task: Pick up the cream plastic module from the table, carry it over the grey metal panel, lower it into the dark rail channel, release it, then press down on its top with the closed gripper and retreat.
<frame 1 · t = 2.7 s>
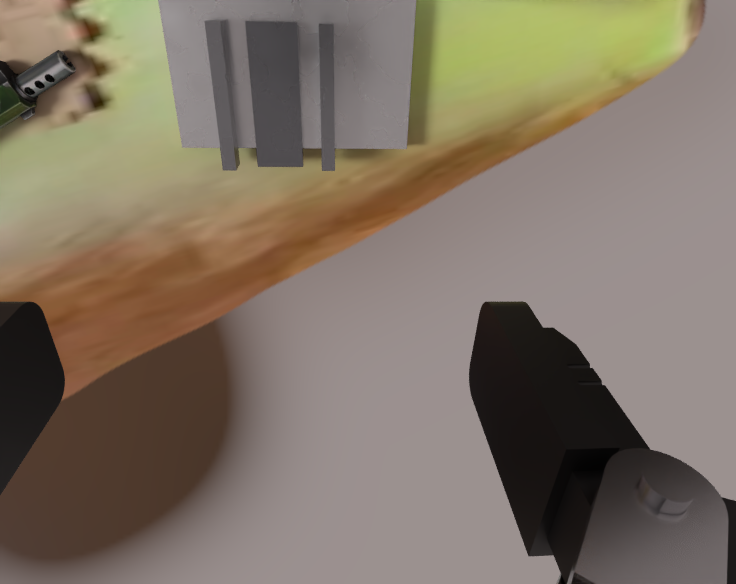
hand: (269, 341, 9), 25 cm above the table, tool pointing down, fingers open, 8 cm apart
rail panel: (293, 59, 30), on the table
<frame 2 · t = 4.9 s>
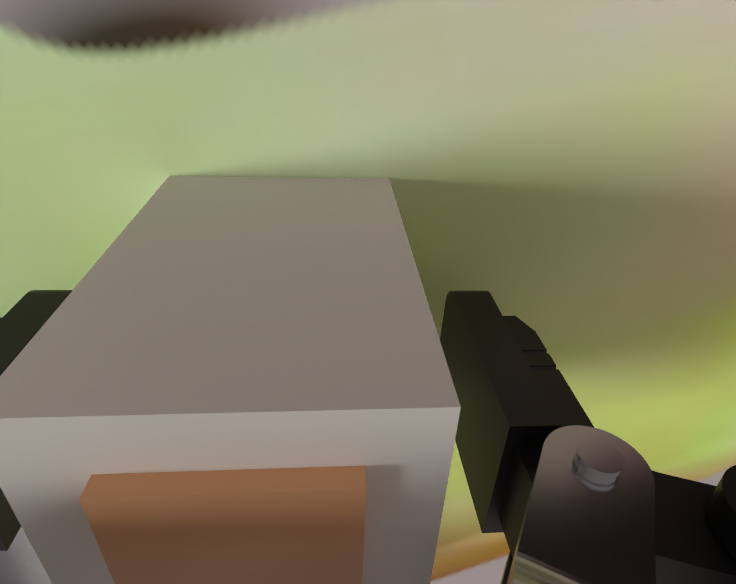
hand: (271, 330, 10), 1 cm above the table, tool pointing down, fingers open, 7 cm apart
module: (287, 292, 11), on the table
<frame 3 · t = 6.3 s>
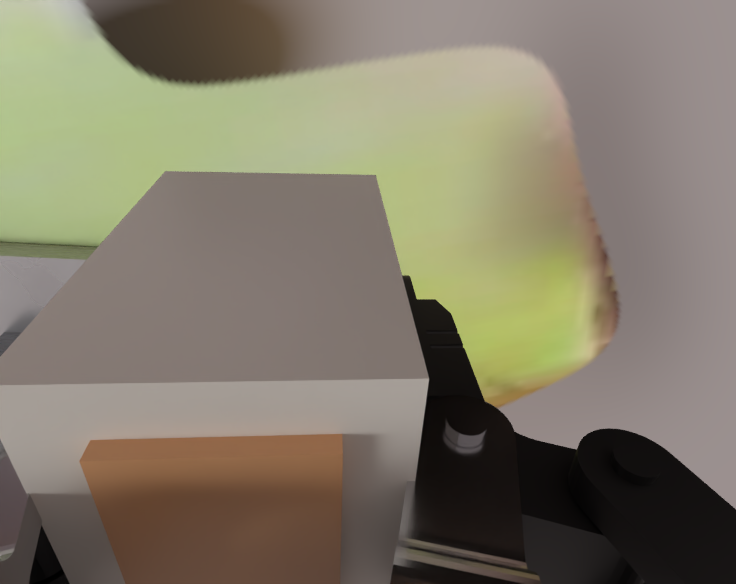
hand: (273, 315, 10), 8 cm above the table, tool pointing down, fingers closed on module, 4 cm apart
module: (278, 285, 11), point 7 cm above the table, touching gripper
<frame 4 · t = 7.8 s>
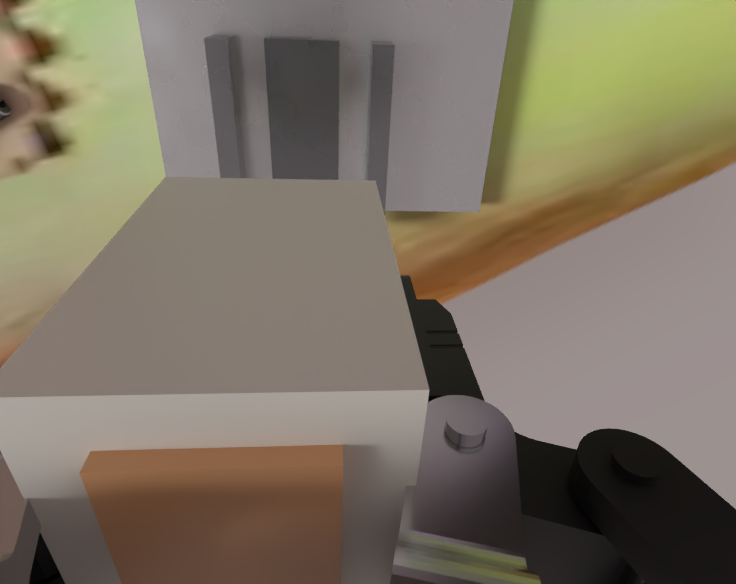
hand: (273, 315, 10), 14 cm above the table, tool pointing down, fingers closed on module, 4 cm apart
rail panel: (328, 90, 21), on the table
module: (278, 290, 11), point 13 cm above the table, touching gripper
when the fingers open (3 cm above the table, at t = 9.6 s): module stays where it is, resting on rail panel.
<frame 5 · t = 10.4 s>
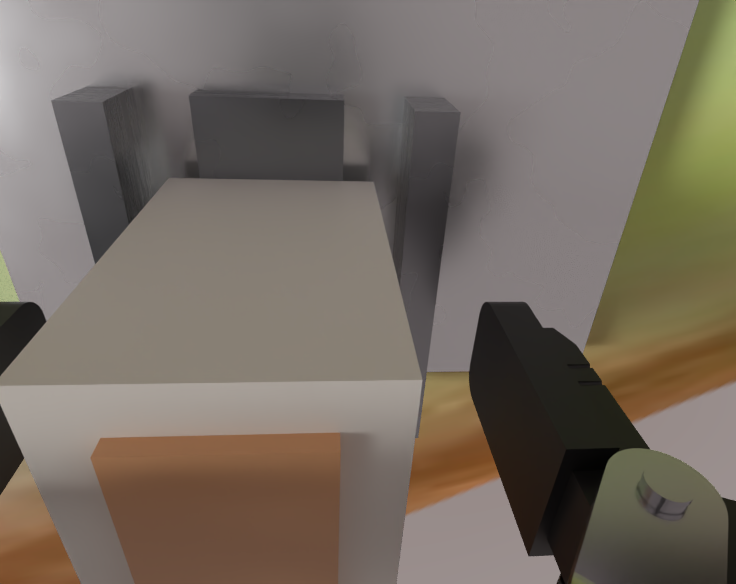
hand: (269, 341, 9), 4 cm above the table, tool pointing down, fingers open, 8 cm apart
rail panel: (323, 178, 12), on the table
module: (279, 288, 11), point 2 cm above the table, touching rail panel
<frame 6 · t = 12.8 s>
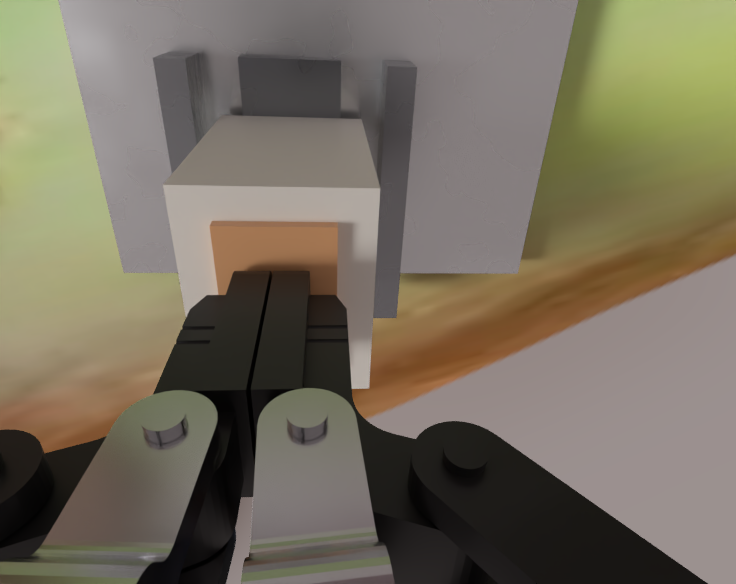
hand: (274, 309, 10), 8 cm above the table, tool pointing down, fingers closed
rail panel: (326, 122, 16), on the table
module: (295, 199, 16), point 2 cm above the table, touching gripper, rail panel
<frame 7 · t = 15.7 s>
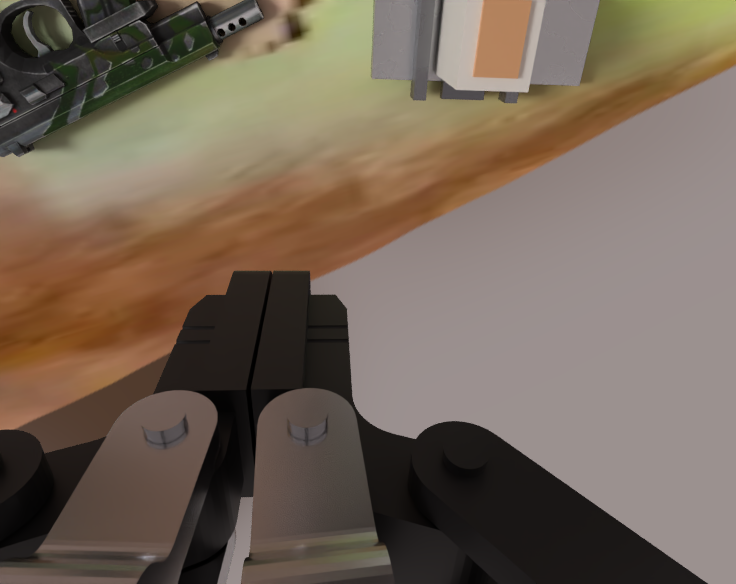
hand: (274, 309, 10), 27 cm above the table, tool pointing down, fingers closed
module: (471, 31, 31), point 2 cm above the table, touching rail panel
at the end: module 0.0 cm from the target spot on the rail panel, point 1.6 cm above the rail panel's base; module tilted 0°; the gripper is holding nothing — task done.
